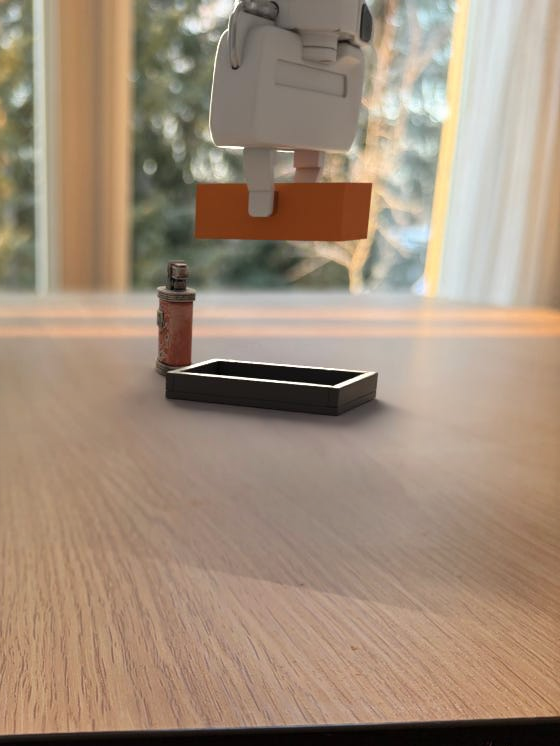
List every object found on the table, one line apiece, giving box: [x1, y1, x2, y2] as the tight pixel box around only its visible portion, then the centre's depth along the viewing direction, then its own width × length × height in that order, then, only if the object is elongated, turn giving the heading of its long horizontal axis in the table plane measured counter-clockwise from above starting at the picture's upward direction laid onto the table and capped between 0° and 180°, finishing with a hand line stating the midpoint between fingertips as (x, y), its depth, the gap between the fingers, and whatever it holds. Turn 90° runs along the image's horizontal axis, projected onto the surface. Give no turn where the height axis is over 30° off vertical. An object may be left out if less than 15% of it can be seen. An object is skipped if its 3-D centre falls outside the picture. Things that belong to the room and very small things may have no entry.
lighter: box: [155, 260, 197, 376], centre depth 100 cm, size 8×3×10 cm, turn 4°
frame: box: [164, 358, 379, 416], centre depth 88 cm, size 15×9×2 cm, turn 57°
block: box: [194, 181, 373, 243], centre depth 82 cm, size 12×6×4 cm, turn 57°
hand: (282, 216), depth 82 cm, fingers closed on block, 6 cm apart
